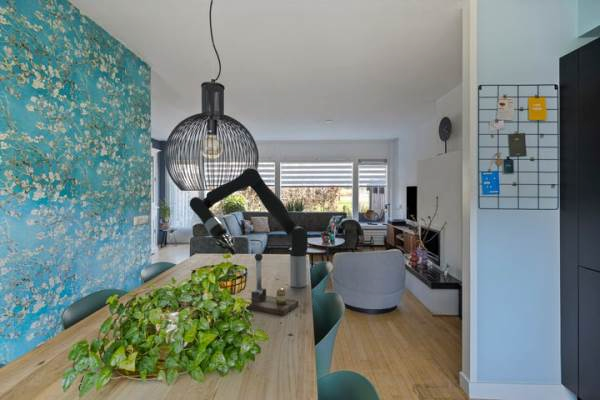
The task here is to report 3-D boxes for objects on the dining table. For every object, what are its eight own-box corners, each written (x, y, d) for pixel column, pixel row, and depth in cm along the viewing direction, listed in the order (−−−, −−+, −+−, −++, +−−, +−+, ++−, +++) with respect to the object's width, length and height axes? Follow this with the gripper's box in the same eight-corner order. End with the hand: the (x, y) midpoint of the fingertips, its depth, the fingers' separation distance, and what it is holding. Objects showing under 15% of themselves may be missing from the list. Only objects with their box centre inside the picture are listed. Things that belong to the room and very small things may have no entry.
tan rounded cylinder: (279, 301, 143) (279, 286, 143) (287, 302, 141) (287, 287, 141) (274, 304, 139) (274, 288, 139) (283, 306, 137) (282, 290, 137)
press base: (258, 298, 154) (258, 285, 154) (298, 305, 144) (298, 290, 144) (241, 307, 141) (241, 293, 141) (283, 315, 131) (282, 299, 131)
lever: (258, 294, 148) (257, 252, 147) (264, 295, 146) (264, 252, 146) (253, 296, 144) (253, 253, 144) (260, 297, 143) (259, 254, 143)
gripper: (210, 223, 152) (230, 250, 146) (228, 221, 164) (247, 246, 158) (202, 234, 154) (221, 261, 149) (220, 231, 166) (239, 256, 161)
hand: (234, 253), depth 153 cm, fingers closed
